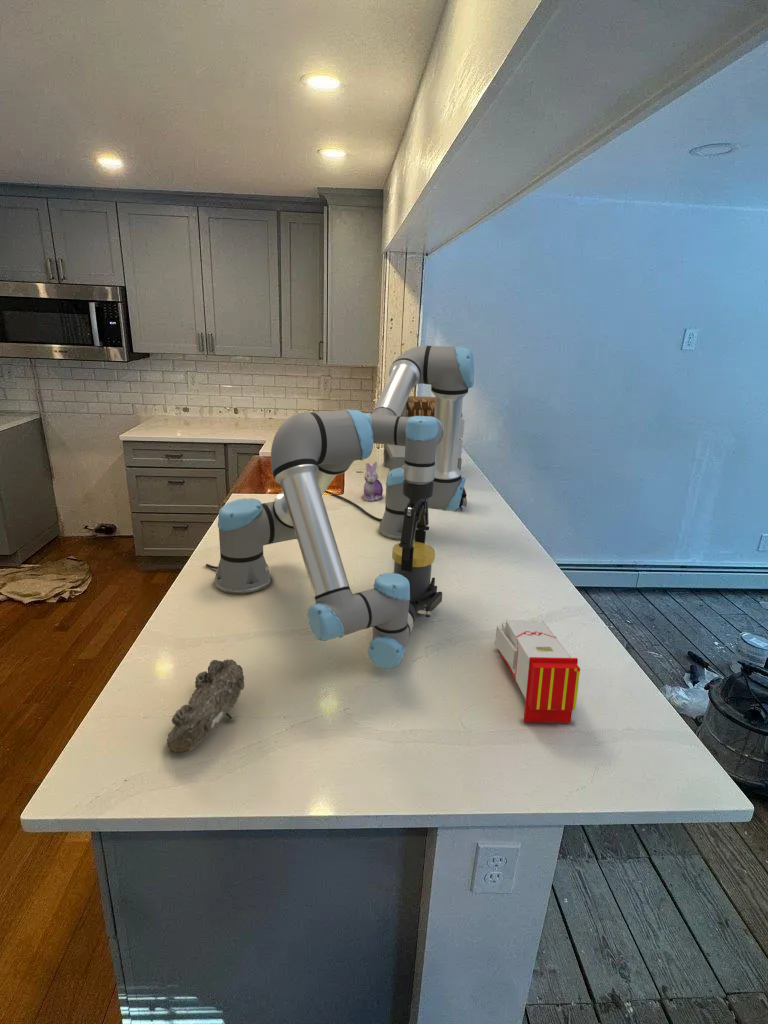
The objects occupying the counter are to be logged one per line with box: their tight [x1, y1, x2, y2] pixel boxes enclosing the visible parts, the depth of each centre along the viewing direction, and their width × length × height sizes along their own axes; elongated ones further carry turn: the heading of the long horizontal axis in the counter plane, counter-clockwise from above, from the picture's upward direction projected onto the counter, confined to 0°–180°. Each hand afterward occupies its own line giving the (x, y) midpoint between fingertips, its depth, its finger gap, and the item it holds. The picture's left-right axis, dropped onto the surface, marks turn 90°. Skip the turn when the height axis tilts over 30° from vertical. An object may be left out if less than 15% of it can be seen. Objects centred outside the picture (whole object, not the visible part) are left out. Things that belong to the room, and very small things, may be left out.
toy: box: [494, 619, 581, 724], centre depth 121 cm, size 12×13×30 cm
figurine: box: [362, 461, 384, 502], centre depth 233 cm, size 9×10×15 cm
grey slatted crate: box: [383, 395, 465, 472], centre depth 268 cm, size 34×33×41 cm
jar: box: [393, 560, 433, 616], centre depth 149 cm, size 10×10×16 cm
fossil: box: [166, 658, 245, 754], centre depth 106 cm, size 22×10×15 cm
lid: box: [391, 541, 436, 567], centre depth 146 cm, size 11×11×2 cm
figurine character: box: [459, 487, 468, 511], centre depth 230 cm, size 7×8×15 cm
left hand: (414, 579), depth 153 cm, fingers closed on jar, 10 cm apart
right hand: (413, 561), depth 147 cm, fingers closed on lid, 11 cm apart
